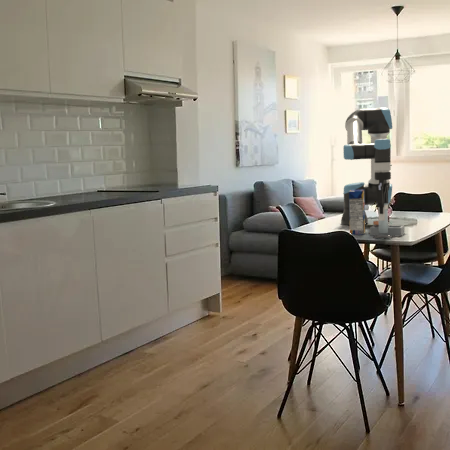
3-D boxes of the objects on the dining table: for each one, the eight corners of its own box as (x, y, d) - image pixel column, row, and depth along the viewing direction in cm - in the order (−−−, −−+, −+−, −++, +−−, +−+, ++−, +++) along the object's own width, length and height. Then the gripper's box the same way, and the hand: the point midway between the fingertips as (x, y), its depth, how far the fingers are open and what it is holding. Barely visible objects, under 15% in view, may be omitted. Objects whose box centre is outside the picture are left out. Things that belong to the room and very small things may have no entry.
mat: (373, 238, 288) (373, 237, 288) (376, 236, 294) (376, 235, 294) (390, 239, 284) (390, 237, 284) (393, 236, 290) (393, 235, 290)
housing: (370, 235, 299) (370, 227, 298) (374, 232, 307) (374, 224, 306) (400, 236, 292) (400, 228, 291) (404, 233, 300) (404, 225, 299)
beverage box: (349, 234, 303) (348, 191, 300) (351, 231, 313) (351, 189, 311) (363, 234, 301) (362, 191, 298) (365, 231, 311) (364, 189, 308)
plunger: (372, 232, 300) (372, 221, 299) (374, 231, 304) (374, 220, 304) (382, 233, 298) (381, 222, 297) (384, 231, 302) (384, 220, 301)
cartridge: (377, 233, 288) (377, 204, 286) (379, 231, 292) (379, 203, 290) (387, 233, 286) (386, 204, 284) (389, 231, 290) (388, 203, 288)
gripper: (386, 172, 276) (386, 222, 279) (394, 170, 291) (394, 217, 294) (370, 172, 279) (370, 222, 282) (379, 170, 294) (379, 217, 298)
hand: (383, 219), depth 288 cm, fingers closed on cartridge, 4 cm apart
